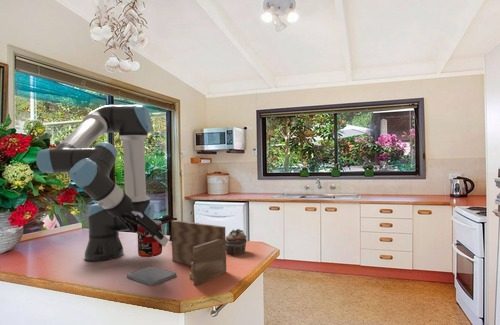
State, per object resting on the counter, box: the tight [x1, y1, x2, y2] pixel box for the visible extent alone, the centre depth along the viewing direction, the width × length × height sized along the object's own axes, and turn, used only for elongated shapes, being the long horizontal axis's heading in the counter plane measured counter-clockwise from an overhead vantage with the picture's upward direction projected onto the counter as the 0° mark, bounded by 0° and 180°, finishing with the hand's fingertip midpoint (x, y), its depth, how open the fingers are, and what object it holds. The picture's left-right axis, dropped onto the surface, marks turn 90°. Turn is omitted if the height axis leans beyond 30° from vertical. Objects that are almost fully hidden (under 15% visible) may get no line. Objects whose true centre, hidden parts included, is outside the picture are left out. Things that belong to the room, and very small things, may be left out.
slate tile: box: [126, 266, 177, 287], centre depth 107 cm, size 14×10×1 cm
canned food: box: [137, 219, 163, 258], centre depth 106 cm, size 8×8×11 cm
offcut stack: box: [189, 262, 193, 280], centre depth 107 cm, size 4×9×5 cm, turn 144°
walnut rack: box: [170, 219, 227, 286], centre depth 112 cm, size 27×14×16 cm, turn 54°
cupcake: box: [225, 228, 247, 256], centre depth 134 cm, size 10×10×10 cm
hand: (158, 241), depth 109 cm, fingers closed on canned food, 8 cm apart
